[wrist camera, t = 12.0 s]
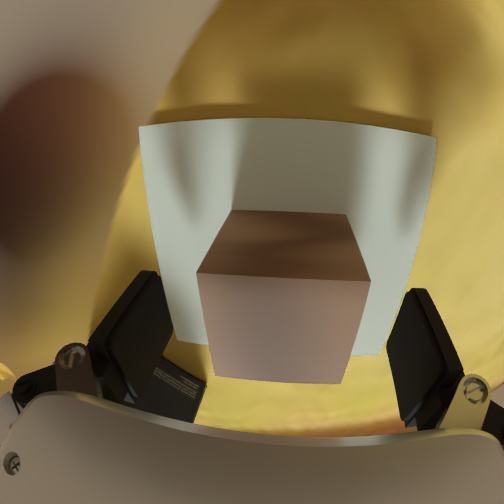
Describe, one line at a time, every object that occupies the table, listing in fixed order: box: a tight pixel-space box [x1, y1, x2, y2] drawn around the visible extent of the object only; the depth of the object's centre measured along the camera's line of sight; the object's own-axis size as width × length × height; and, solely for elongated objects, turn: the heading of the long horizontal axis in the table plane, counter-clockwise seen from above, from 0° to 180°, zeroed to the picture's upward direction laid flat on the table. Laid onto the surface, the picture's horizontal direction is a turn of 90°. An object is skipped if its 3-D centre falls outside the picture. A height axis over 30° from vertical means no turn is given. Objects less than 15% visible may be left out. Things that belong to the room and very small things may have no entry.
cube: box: [196, 210, 371, 384], centre depth 11 cm, size 5×5×5 cm
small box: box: [122, 357, 207, 423], centre depth 18 cm, size 11×6×10 cm, turn 141°
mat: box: [139, 118, 437, 356], centre depth 14 cm, size 13×13×1 cm
